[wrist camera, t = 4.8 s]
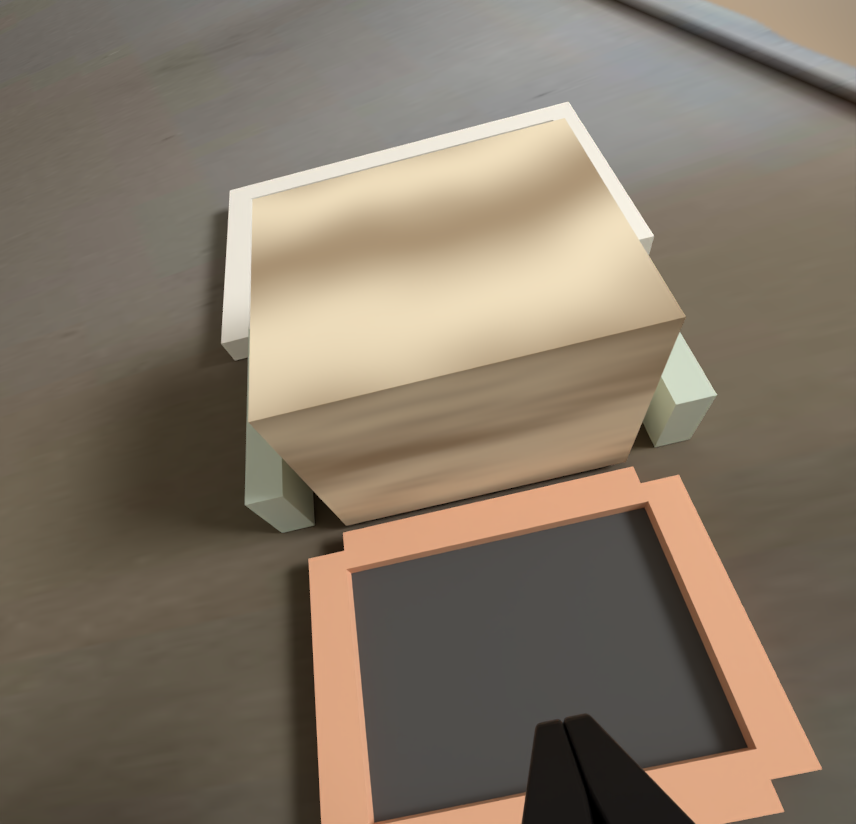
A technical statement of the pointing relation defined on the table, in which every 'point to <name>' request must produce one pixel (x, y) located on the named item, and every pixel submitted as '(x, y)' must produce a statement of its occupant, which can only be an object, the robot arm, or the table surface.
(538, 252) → the maple block
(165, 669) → the table surface
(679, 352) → the sage guide walls
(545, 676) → the frame
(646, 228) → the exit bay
